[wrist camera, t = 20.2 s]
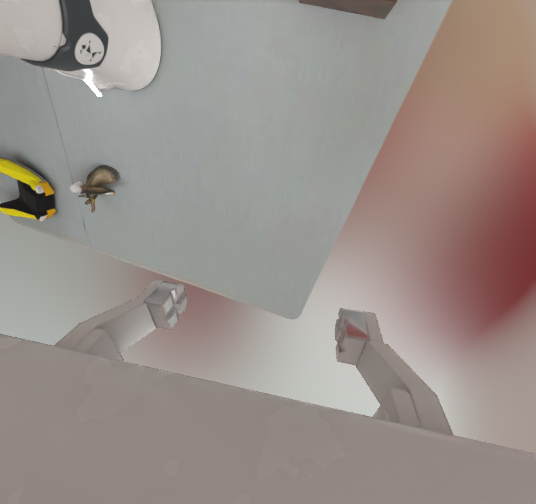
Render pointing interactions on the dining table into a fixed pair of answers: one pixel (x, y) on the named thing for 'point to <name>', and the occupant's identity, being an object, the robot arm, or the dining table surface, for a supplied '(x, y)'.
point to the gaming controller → (28, 192)
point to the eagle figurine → (96, 184)
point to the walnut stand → (357, 6)
